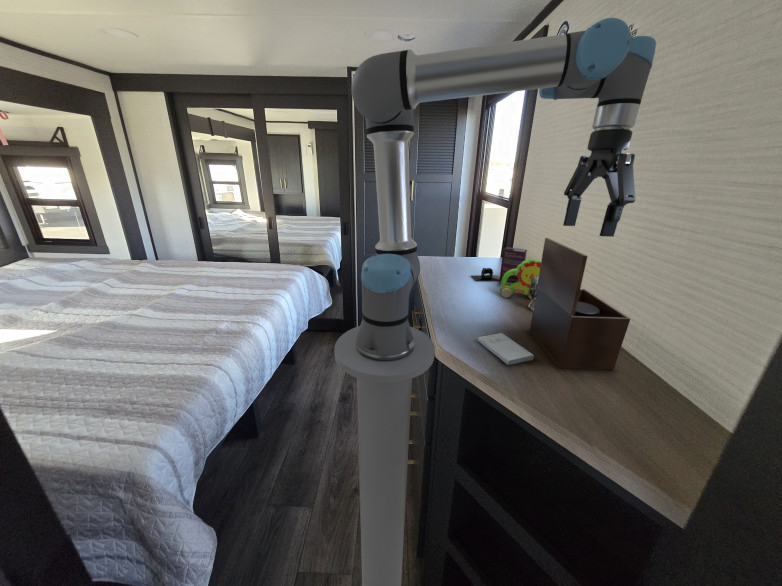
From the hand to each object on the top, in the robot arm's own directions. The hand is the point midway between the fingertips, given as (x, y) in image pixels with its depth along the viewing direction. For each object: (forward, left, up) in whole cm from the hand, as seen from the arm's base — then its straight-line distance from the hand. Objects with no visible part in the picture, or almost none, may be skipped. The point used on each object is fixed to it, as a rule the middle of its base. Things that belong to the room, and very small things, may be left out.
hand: (586, 230), depth 74 cm
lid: (-1, -4, -11) cm, 11 cm away
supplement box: (-46, +20, -33) cm, 60 cm away
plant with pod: (-22, +14, -33) cm, 42 cm away
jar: (+1, +3, -32) cm, 32 cm away
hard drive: (-3, -15, -33) cm, 36 cm away
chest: (+1, +2, -32) cm, 32 cm away
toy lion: (-34, +16, -33) cm, 50 cm away
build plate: (-57, +16, -33) cm, 68 cm away
